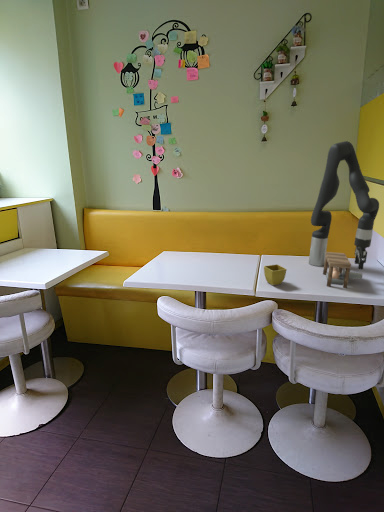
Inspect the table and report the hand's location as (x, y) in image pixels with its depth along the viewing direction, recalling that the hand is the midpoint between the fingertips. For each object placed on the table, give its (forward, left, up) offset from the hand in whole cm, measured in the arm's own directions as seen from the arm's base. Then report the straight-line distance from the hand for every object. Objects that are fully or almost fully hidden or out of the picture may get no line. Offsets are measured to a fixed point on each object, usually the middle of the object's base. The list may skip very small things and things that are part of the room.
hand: (358, 266), depth 182 cm
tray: (+1, -6, -9) cm, 11 cm away
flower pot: (+14, -43, -9) cm, 46 cm away
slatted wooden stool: (+1, -11, -9) cm, 14 cm away
